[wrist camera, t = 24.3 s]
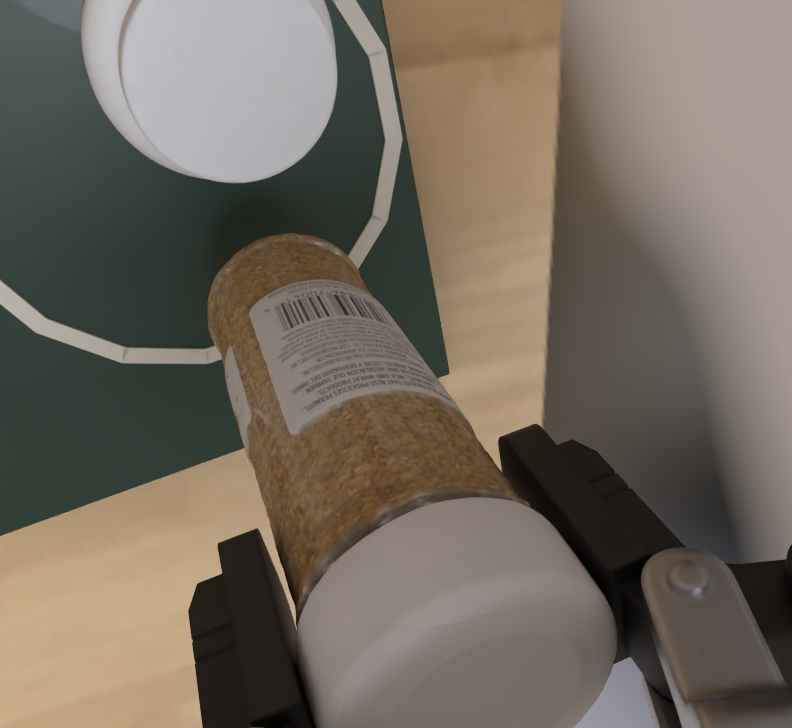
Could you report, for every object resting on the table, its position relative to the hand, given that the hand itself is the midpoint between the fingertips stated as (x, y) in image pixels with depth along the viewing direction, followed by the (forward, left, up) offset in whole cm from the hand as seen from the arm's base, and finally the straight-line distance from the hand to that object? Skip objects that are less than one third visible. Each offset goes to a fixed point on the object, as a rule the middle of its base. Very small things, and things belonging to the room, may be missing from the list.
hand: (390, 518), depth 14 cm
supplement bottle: (0, -7, -15) cm, 16 cm away
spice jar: (0, 0, -10) cm, 10 cm away
